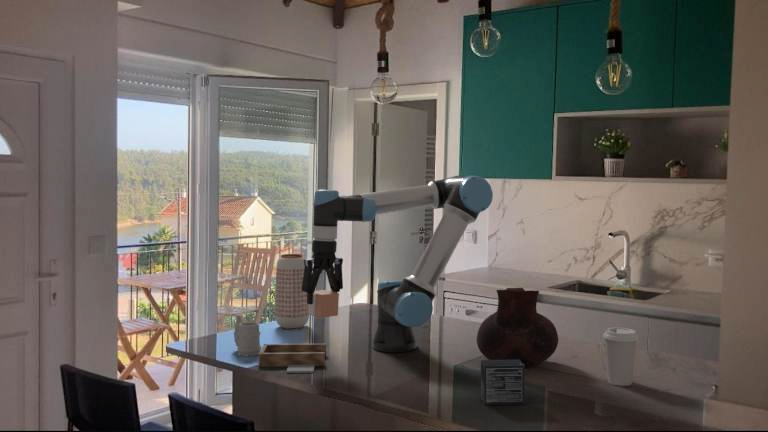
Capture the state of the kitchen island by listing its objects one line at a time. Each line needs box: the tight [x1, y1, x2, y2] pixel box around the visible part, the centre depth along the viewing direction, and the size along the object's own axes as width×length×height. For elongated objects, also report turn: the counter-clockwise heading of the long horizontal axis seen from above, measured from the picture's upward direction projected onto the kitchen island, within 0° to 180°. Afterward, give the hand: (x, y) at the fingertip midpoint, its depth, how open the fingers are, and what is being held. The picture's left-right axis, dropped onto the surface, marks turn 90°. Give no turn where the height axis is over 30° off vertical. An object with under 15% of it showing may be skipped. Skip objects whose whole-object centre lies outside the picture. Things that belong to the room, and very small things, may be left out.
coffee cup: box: [602, 327, 639, 387], centre depth 198 cm, size 10×10×15 cm
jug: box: [476, 287, 559, 369], centre depth 216 cm, size 25×25×25 cm
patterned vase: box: [274, 253, 310, 330], centre depth 269 cm, size 13×13×28 cm
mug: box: [233, 314, 262, 357], centre depth 231 cm, size 8×12×12 cm, turn 47°
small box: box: [480, 359, 526, 406], centre depth 181 cm, size 11×6×10 cm, turn 92°
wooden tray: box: [258, 343, 327, 368], centre depth 221 cm, size 20×12×4 cm, turn 92°
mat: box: [285, 364, 316, 374], centre depth 211 cm, size 8×7×1 cm
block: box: [306, 289, 340, 319], centre depth 216 cm, size 7×7×7 cm
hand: (321, 313), depth 216 cm, fingers closed on block, 7 cm apart
